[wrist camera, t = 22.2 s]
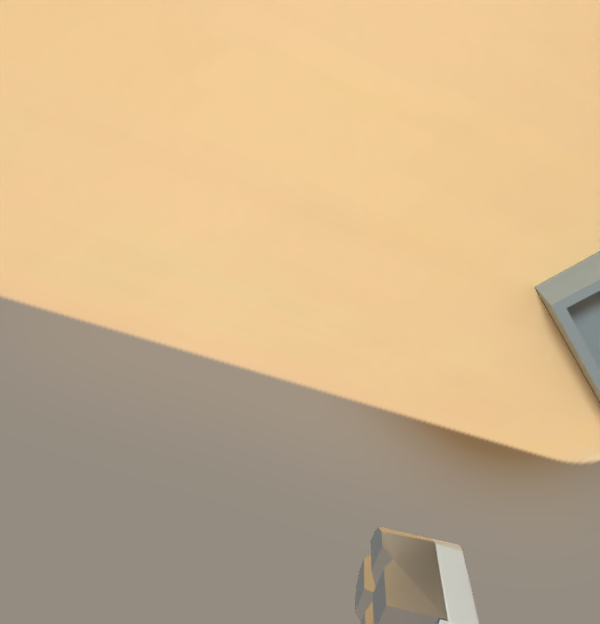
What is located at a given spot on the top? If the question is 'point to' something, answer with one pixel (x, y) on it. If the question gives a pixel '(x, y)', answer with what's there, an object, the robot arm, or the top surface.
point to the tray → (578, 313)
